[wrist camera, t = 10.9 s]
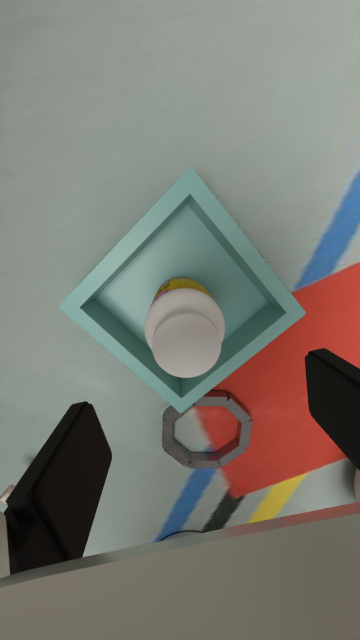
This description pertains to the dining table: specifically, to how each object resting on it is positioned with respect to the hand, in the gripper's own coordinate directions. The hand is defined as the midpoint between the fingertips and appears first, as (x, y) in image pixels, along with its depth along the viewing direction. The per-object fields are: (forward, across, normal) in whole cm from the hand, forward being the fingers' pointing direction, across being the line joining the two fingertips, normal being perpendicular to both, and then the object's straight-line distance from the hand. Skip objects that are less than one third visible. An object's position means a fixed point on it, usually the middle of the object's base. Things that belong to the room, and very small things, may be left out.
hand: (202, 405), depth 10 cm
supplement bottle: (+19, 0, -1) cm, 19 cm away
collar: (+20, +1, +19) cm, 28 cm away
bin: (+19, 0, -1) cm, 19 cm away
